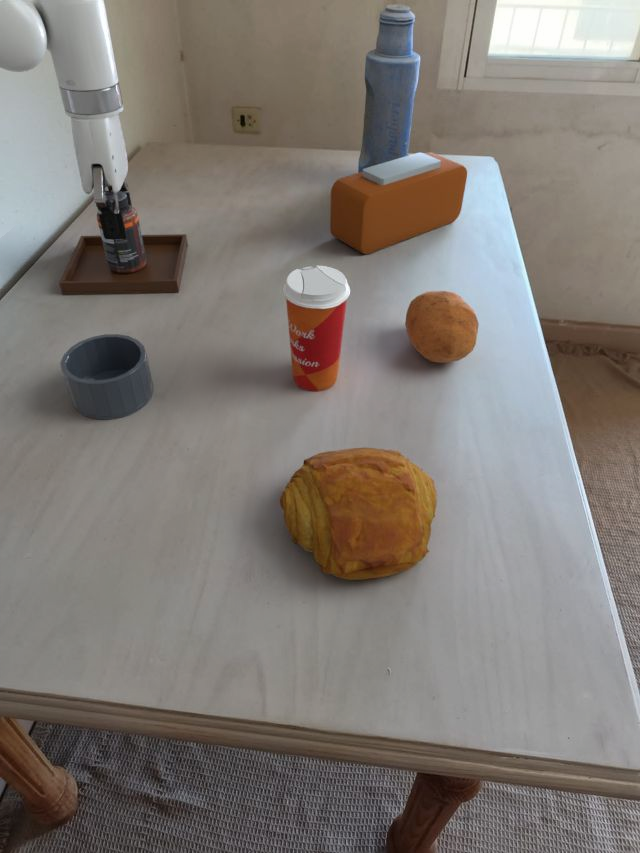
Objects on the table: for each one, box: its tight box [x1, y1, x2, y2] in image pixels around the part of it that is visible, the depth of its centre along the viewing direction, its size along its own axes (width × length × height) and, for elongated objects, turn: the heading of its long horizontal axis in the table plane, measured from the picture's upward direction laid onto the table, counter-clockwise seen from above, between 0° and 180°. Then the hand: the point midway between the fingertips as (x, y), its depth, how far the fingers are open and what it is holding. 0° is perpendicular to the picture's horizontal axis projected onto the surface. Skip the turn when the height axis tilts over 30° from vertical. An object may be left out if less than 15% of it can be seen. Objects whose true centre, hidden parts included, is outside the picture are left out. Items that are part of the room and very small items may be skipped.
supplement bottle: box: [96, 191, 146, 273], centre depth 95 cm, size 6×6×11 cm
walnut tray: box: [58, 233, 189, 296], centre depth 99 cm, size 17×15×2 cm
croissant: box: [279, 446, 438, 581], centre depth 61 cm, size 14×16×8 cm
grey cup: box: [60, 333, 154, 421], centre depth 75 cm, size 10×10×6 cm
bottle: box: [357, 4, 421, 173], centre depth 116 cm, size 10×10×30 cm
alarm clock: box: [329, 151, 468, 255], centre depth 107 cm, size 24×8×11 cm, turn 128°
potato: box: [404, 290, 479, 364], centre depth 82 cm, size 9×11×8 cm
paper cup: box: [282, 264, 351, 392], centre depth 75 cm, size 8×8×14 cm
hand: (119, 227), depth 95 cm, fingers closed on supplement bottle, 6 cm apart
